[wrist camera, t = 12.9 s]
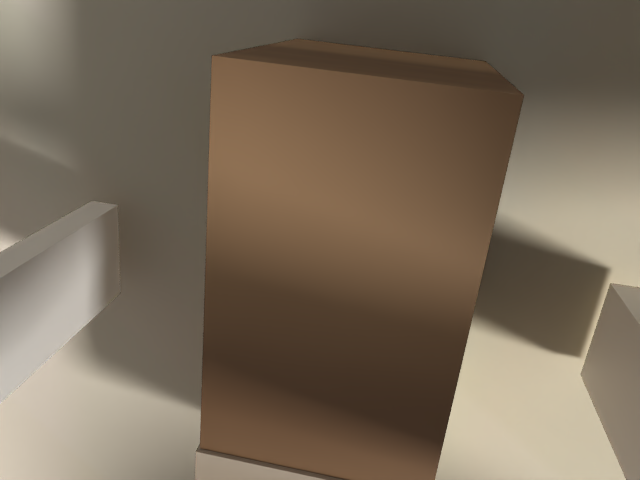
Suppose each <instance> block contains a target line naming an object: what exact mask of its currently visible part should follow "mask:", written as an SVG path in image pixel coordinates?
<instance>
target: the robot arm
mask: <svg viewBox="0 0 640 480" xmlns="http://www.w3.org/2000/svg"><path fill="white" fill-rule="evenodd" d="M120 293H121V292H120V259H119V225H118V205H116V204H109V203H103V202H97V201H91V202H89V203H87V204H85V205H84V206H82V207H80V208H78V209H76V210H75V211H73V212H71V213H69V214H68V215H66V216H64V217H62V218H60V219H59V220H57V221H55V222H53V223H51V224H50V225H48V226H46V227H44V228H43V229H41V230H39V231H37V232H35V233H34V234H32V235H30V236H28V237H27V238H25V239H23V240H21V241H19V242H18V243H16V244H14V245H12V246H11V247H9V248H7V249H5V250H3V251H2V252H0V404H1V403H2V402H3V401H4V400H5V399H6V398H7V397H8V396H9V395H10V394H11V393H13V392H14V391H15V390H16V389H17V388H18V387H19V386H20V385H21V384H22V383H23V382H25V381H26V380H27V379H28V378H29V377H30V376H31V375H32V374H33V373H34V372H35V371H36V370H38V369H39V368H40V367H41V366H42V365H43V364H44V363H45V362H46V361H47V360H48V359H50V358H51V357H52V356H53V355H54V354H55V353H56V352H57V351H58V350H59V349H60V348H61V347H63V346H64V345H65V344H66V343H67V342H68V341H69V340H70V339H71V338H72V337H73V336H75V335H76V334H77V333H78V332H79V331H80V330H81V329H82V328H83V327H84V326H85V325H86V324H88V323H89V322H90V321H91V320H92V319H93V318H94V317H95V316H96V315H97V314H98V313H100V312H101V311H102V310H103V309H104V308H105V307H106V306H107V305H108V304H109V303H110V302H111V301H113V300H114V299H115V298H116V297H117V296H118V295H119V294H120ZM581 377H582V379H583V382H584V384H585V386H586V388H587V391H588V393H589V395H590V398H591V400H592V402H593V404H594V407H595V409H596V411H597V414H598V416H599V418H600V421H601V423H602V425H603V427H604V430H605V432H606V434H607V437H608V439H609V441H610V443H611V446H612V448H613V450H614V453H615V455H616V457H617V459H618V462H619V464H620V466H621V469H622V471H623V473H624V476H625V478H626V480H640V288H638V287H632V286H626V285H620V284H613V283H610V286H609V289H608V292H607V295H606V298H605V301H604V304H603V307H602V310H601V313H600V316H599V319H598V323H597V326H596V329H595V332H594V335H593V338H592V341H591V344H590V347H589V350H588V353H587V356H586V359H585V362H584V365H583V369H582V372H581Z"/></svg>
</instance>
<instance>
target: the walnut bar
mask: <svg viewBox="0 0 640 480" xmlns="http://www.w3.org/2000/svg"><path fill="white" fill-rule="evenodd" d="M523 98H524V94H522V93H521V92H520V91H519V90H518V89H517V88H516V87H514V86H513V85H512V84H511V83H510V82H509V81H508V80H507V79H505V78H504V77H503V76H502V75H501V74H500V73H499V72H497V71H496V70H495V69H494V68H493V67H492V66H491V65H489V64H488V63H487V62H486V61H479V60H470V59H462V58H454V57H445V56H437V55H429V54H420V53H412V52H404V51H395V50H387V49H379V48H371V47H362V46H354V45H346V44H337V43H329V42H321V41H312V40H304V39H293V40H288V41H283V42H278V43H273V44H268V45H263V46H258V47H253V48H248V49H243V50H238V51H233V52H228V53H223V54H217V55H212V66H211V100H210V133H209V166H208V199H207V232H206V265H205V298H204V332H203V365H202V398H201V431H200V444H199V446H198V448H197V450H196V457H195V480H435V476H436V472H437V468H438V463H439V459H440V455H441V450H442V446H443V442H444V438H445V433H446V429H447V425H448V420H449V416H450V412H451V407H452V403H453V399H454V395H455V390H456V386H457V382H458V377H459V373H460V369H461V364H462V360H463V356H464V352H465V347H466V343H467V339H468V334H469V330H470V326H471V321H472V317H473V313H474V309H475V304H476V300H477V296H478V291H479V287H480V283H481V279H482V274H483V270H484V266H485V261H486V257H487V253H488V248H489V244H490V240H491V236H492V231H493V227H494V223H495V218H496V214H497V210H498V205H499V201H500V197H501V193H502V188H503V184H504V180H505V175H506V171H507V167H508V162H509V158H510V154H511V150H512V145H513V141H514V137H515V132H516V128H517V124H518V120H519V115H520V111H521V107H522V102H523Z"/></svg>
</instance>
